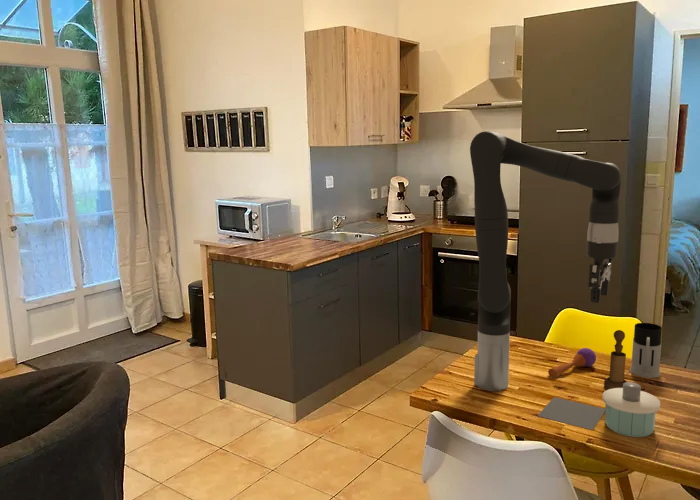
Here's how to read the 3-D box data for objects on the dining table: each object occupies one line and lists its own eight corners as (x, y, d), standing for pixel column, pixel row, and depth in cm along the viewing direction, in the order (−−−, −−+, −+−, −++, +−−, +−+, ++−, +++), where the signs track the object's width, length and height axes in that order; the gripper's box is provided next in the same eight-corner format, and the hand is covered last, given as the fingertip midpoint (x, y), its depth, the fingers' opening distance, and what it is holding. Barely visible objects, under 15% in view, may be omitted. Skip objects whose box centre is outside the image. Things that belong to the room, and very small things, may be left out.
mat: (537, 417, 153) (537, 415, 153) (553, 398, 164) (554, 396, 164) (592, 431, 145) (592, 430, 145) (606, 410, 156) (606, 409, 156)
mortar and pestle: (630, 395, 165) (634, 334, 162) (606, 393, 166) (610, 333, 163) (624, 385, 172) (628, 327, 168) (601, 384, 173) (604, 326, 170)
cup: (600, 431, 145) (602, 405, 144) (610, 414, 154) (612, 389, 153) (649, 443, 139) (651, 416, 137) (657, 425, 147) (658, 399, 146)
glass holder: (660, 369, 183) (663, 323, 180) (662, 386, 171) (665, 337, 168) (629, 365, 187) (632, 320, 184) (629, 381, 174) (632, 334, 172)
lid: (597, 405, 144) (598, 388, 143) (609, 387, 154) (610, 371, 153) (655, 419, 136) (656, 401, 135) (663, 399, 146) (665, 382, 146)
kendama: (543, 363, 181) (582, 345, 191) (546, 381, 181) (585, 362, 192) (559, 365, 176) (598, 346, 186) (562, 384, 176) (601, 364, 187)
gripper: (594, 234, 160) (591, 291, 163) (580, 242, 149) (577, 302, 152) (623, 236, 156) (620, 294, 159) (611, 244, 145) (607, 306, 147)
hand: (599, 298), depth 155 cm, fingers open, 8 cm apart
